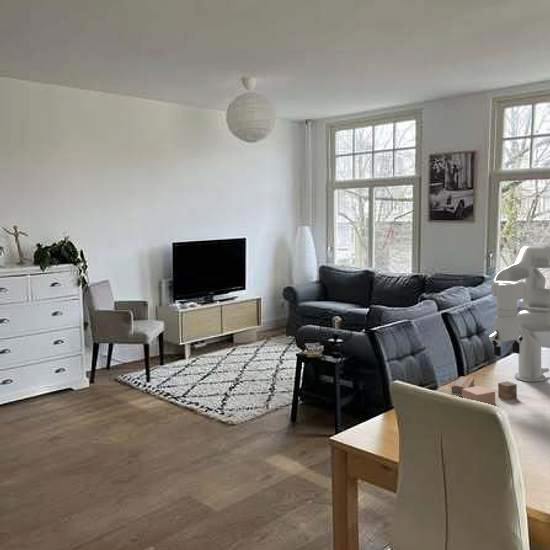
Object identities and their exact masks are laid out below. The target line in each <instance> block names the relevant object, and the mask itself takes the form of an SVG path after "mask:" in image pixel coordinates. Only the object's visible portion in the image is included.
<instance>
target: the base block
mask: <svg viewBox="0 0 550 550" xmlns="http://www.w3.org/2000/svg"><path fill="white" fill-rule="evenodd" d="M462 397H464V398H467V399H471V400H476V401H480V402H484V403H488V404H491V405H495V404H496V391H495V390H492V389H490V388H487V387H484V386H482V385H478V386H475V387H470V388H464V389H462ZM462 397H461V398H462Z"/></svg>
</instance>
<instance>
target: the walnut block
mask: <svg viewBox="0 0 550 550" xmlns="http://www.w3.org/2000/svg"><path fill="white" fill-rule="evenodd" d="M497 384H498V385H497V387H498V388H497V389H498V391H497V395H498V398H500V399H502V400H506V401H510V400H515V399H518V395H517V394H518V389H517V388H518V385H517V383H513V382H512V381H511V382H510V381H507V380H506V381H502V382H498V383H497Z"/></svg>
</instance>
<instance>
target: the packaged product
mask: <svg viewBox="0 0 550 550" xmlns="http://www.w3.org/2000/svg"><path fill="white" fill-rule="evenodd" d="M474 382H475V378H474V377H471V376H459V377H458V378H457V379H456V380H455V382H454V383H453V384H452V385H451V386H450V387H449V389H448V390H447V391H446V393H448V394H451V395H456V396H462V389H464V388H470V387H475V386H479V384H474ZM446 393H445V394H446Z"/></svg>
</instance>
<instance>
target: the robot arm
mask: <svg viewBox="0 0 550 550" xmlns="http://www.w3.org/2000/svg"><path fill="white" fill-rule="evenodd" d="M539 269H550V245H525V246H522V247H521V248H520V249H519V250H518V253H517V255H516V256H515V259H514V261H513V262H512V264H511V265H509V266H507V267H505V268H504V269H501V270H500V271H498V273H497V274H496V275H495V276H494V279H493V280H492V283H491V287H490V293H491V296H493V297H494V298H496V316H495V317H494V321H493V327H492V329H493V330H492V334H490V335H489V336H488V338H489V342H490V343H491V344H492V346H493V355H494V356H497V357H501V356H502V347H501V344H502V343H503V342H505V343H506V342H511V341H513V343H512V353H514V354H518V372H517V373H515V374H514V378H515V379H517V380H520V381H523V382H529V383H530V382H531V383H537V382H543V381H545V380H546V376H545V375H544V373H549V372H550V369H549V368H548V367H545V368H543V367H542V339H541V337H540V335H538V333H545V334H546V333H548V334H550V288H546V282H547V281H546V279H547V278H546V277H545V276H544V274H543V273H542V272H541V271H540V270H539ZM521 280H525V281H524V282H523V281H521ZM518 300H522V305H523V306H524V307H525V308H527V309H524V310H520V311H519V310H518ZM532 309H533V310H532ZM534 309H535V310H534ZM545 310H547V311H545Z"/></svg>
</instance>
